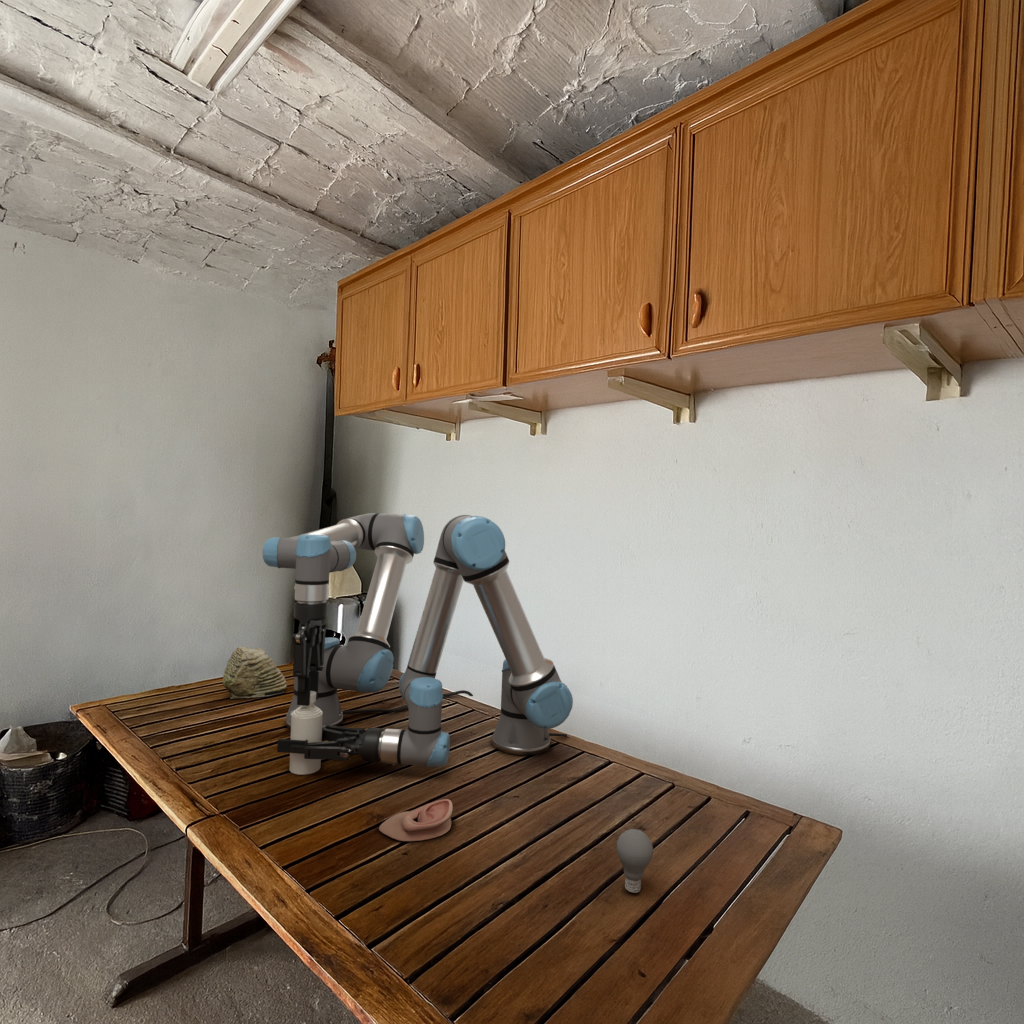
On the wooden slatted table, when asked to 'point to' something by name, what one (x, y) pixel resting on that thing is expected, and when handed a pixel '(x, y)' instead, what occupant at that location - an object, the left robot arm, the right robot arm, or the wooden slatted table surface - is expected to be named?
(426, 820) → the anatomical model
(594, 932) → the wooden slatted table surface
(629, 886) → the light bulb
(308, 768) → the bottle
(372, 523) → the left robot arm
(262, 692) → the fossil
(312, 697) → the cap
